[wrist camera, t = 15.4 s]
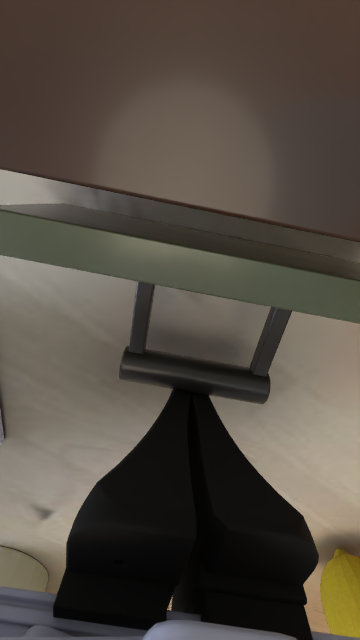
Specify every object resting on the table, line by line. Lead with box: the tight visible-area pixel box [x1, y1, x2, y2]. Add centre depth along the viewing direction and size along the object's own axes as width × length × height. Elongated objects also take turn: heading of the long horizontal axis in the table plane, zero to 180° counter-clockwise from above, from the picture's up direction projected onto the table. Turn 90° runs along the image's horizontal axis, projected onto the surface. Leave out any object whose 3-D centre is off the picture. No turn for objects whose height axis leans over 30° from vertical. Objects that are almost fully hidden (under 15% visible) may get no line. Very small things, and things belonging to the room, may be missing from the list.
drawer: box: [0, 204, 360, 404], centre depth 8 cm, size 18×13×5 cm
